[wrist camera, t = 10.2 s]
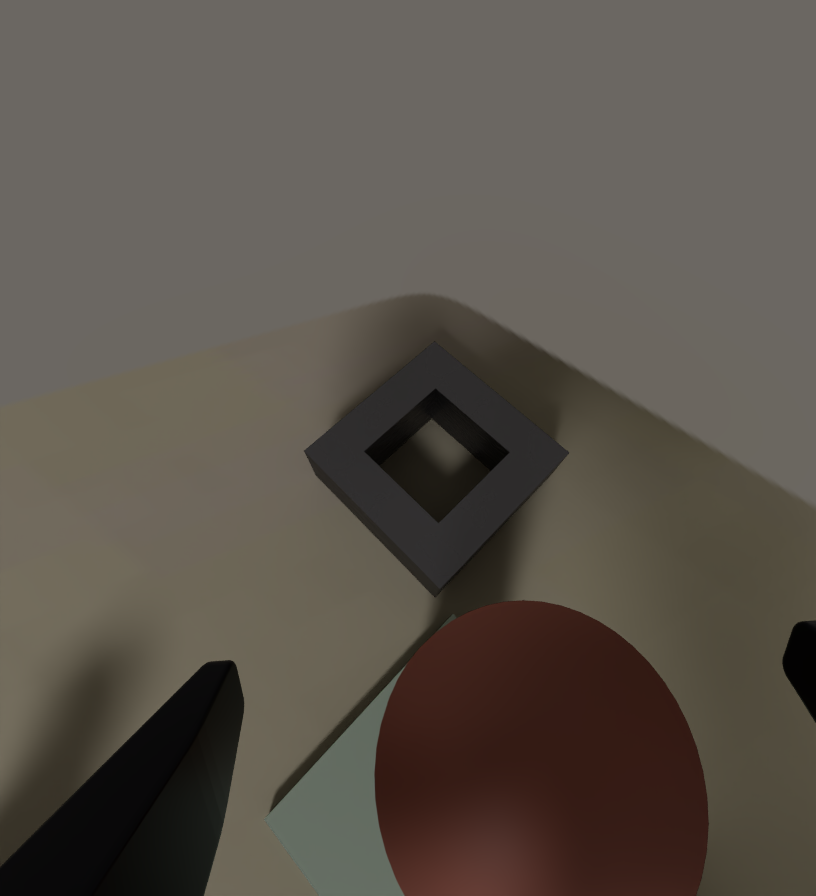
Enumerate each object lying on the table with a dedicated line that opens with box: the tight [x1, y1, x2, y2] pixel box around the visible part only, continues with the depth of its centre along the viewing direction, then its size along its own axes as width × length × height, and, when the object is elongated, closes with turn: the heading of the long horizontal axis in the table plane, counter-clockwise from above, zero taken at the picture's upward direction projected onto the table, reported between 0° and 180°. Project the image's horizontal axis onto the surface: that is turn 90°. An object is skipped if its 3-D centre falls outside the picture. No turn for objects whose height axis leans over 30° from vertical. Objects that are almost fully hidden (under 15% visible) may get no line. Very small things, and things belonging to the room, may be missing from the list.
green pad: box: [264, 614, 457, 896], centre depth 18 cm, size 10×10×1 cm
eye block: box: [304, 341, 569, 597], centre depth 22 cm, size 8×8×3 cm
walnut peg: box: [374, 600, 709, 896], centre depth 13 cm, size 5×5×13 cm
